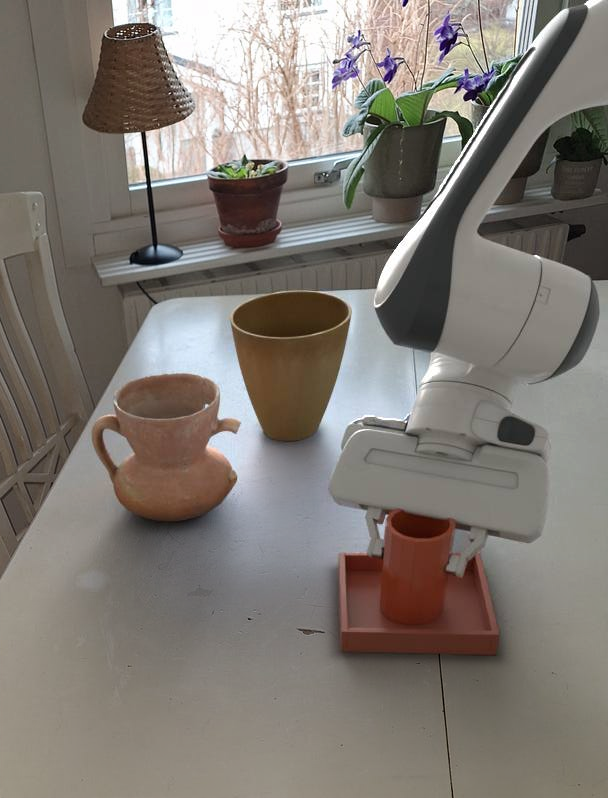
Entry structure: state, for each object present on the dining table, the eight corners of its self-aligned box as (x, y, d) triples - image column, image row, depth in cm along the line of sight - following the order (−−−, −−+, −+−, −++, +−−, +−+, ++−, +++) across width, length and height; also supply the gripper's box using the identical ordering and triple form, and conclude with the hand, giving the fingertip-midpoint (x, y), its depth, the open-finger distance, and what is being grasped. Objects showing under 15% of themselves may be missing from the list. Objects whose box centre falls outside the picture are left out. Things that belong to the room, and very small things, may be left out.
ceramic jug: (254, 475, 115) (252, 368, 106) (230, 539, 105) (225, 427, 96) (119, 467, 121) (106, 364, 112) (83, 527, 110) (65, 419, 101)
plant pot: (237, 405, 131) (234, 293, 120) (344, 403, 128) (350, 287, 118) (229, 457, 120) (225, 338, 109) (346, 455, 117) (353, 333, 107)
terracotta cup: (439, 587, 94) (451, 504, 87) (446, 626, 89) (458, 541, 83) (377, 587, 95) (384, 504, 88) (380, 625, 90) (387, 541, 84)
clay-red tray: (477, 572, 96) (480, 552, 94) (495, 655, 86) (499, 634, 84) (338, 571, 98) (339, 552, 97) (340, 651, 89) (341, 631, 87)
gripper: (344, 401, 90) (303, 536, 90) (567, 434, 81) (522, 584, 81) (357, 422, 95) (318, 549, 96) (567, 456, 86) (524, 596, 86)
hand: (413, 566), depth 88 cm, fingers closed on terracotta cup, 6 cm apart
